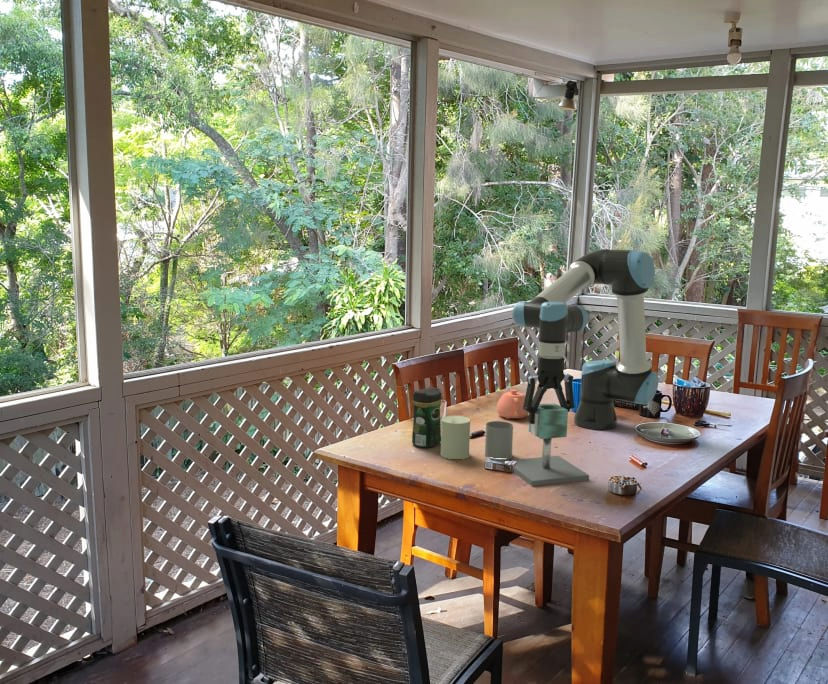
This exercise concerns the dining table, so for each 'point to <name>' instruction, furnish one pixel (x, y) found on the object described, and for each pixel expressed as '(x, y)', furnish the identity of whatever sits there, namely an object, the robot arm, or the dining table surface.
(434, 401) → the coffee jar
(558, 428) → the bead
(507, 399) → the sugar bowl
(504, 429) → the cup
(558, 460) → the board
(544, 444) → the rod
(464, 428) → the can
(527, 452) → the dining table surface
